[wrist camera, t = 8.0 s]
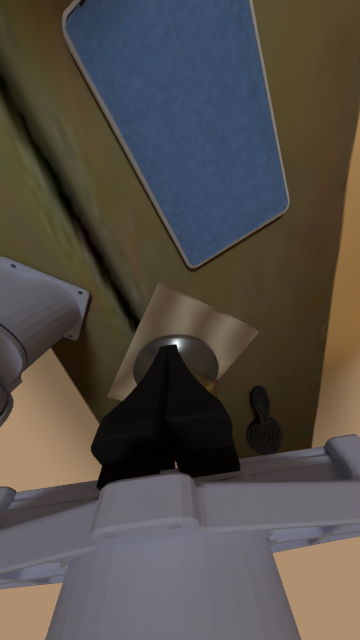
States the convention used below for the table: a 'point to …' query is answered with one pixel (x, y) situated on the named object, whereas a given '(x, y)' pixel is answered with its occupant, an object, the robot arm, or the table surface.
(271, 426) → the hairbrush
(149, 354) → the dial
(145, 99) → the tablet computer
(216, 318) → the dial board
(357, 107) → the table surface
